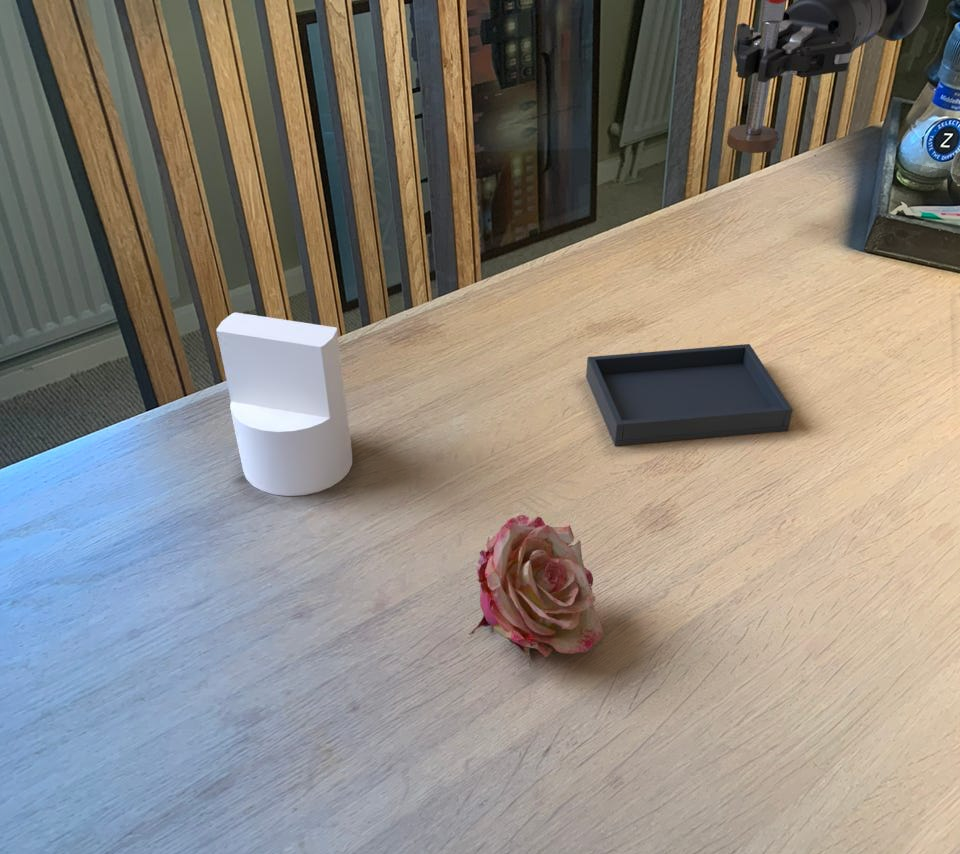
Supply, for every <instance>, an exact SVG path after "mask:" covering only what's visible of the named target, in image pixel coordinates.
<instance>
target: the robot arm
mask: <svg viewBox="0 0 960 854" xmlns="http://www.w3.org/2000/svg"><path fill="white" fill-rule="evenodd" d="M928 3H929V0H796V1H794V2H793V3H791V4H790V5H789V6H788V7H787V8H786V9H784V15H783V21H780V27H779V33H778V39H777V45H776V50H775V51H773V52H771V53H769V54H767V55H766V56H764V57H762V59H761V62H760V67H759V73H758V81H760V82H767V81H769V80H770V79H771V80H772V79H775V78H777V77H780V76H781V77H786V76H790V75H794V76H797V77H799V78H800V79H801V78H802V79H804V78H811V77H815V76H822V75H828V74H835V73H842V72H847V71H848V68H849V65H850V60H851V56H852V53H853V52H854V51H855V50H856V49H859V48H860V47H862V46H863V45H865V44H867V42H869V41H870V40H871V39H873V38H874V37H875V36H877V37H879V38H881V39H883V40H886V41H890V42H896V41H900V40H902V39H904V38H906V37H907V36H908V35H910V34H911V33H912V32H913V31H914V30H915V29H916V28H917V27H918V25H919V23H920V22H921V20H922V18H923V16H924V14H925V12H926V9H927V6H928ZM762 30H763V28H762V29H761V31H760V32H757V31H756V32H755V28H754V27H750V24H747V23H745V22H741V23H738V24H737V25H736V33H735V37H734V38H735V39H734V45H733V54H734V58H735V62H736V66H735V72H736V73H737V78H741V79H747V78H749V77H750V76H752V75H755V73H756V67H757V60H758V54H759V48H760V42H761V36H762ZM771 80H770V81H771Z"/></svg>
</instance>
